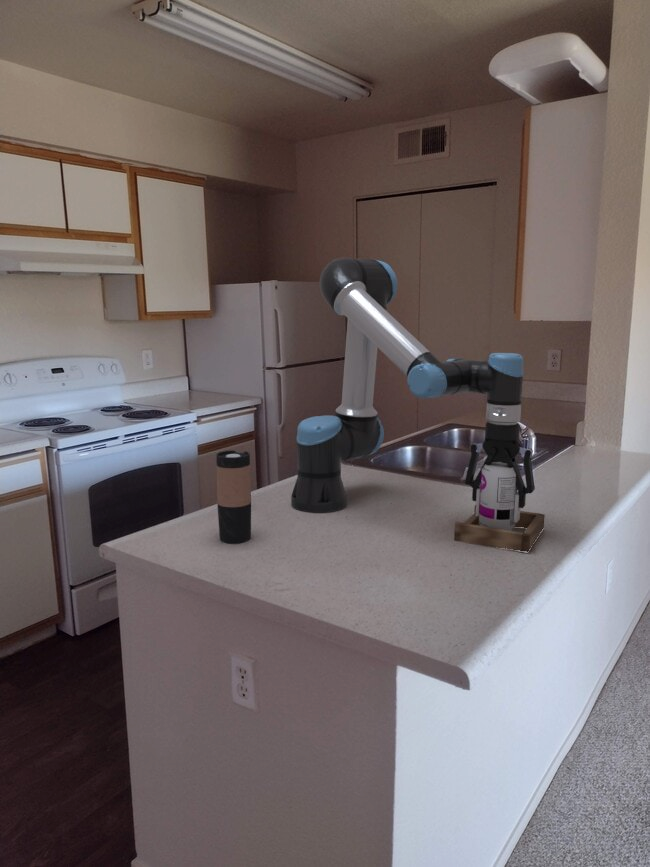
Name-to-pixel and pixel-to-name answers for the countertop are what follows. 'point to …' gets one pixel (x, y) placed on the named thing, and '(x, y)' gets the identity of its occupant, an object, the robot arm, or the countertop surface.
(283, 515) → the countertop surface
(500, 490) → the supplement can
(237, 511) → the travel mug
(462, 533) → the dock bay
